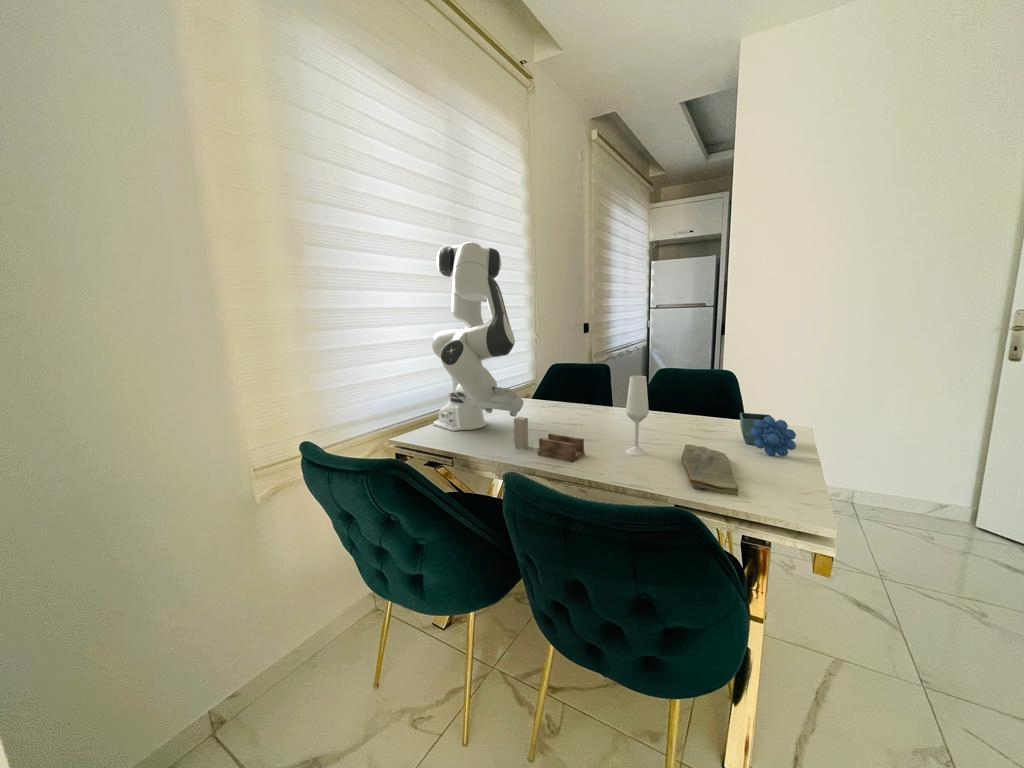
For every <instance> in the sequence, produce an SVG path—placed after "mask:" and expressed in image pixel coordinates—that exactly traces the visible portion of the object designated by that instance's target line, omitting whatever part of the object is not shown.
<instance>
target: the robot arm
mask: <svg viewBox="0 0 1024 768" xmlns="http://www.w3.org/2000/svg"><path fill="white" fill-rule="evenodd" d="M436 266H437V269H438V272H439V273H440V275H442V276H444V277H446V278H447V277H448V278H451V277H452V287H451V314H452V316H453V317H454V318H455V319H457V320H458V321H460V322H462V323H464V329H461V328H460V329H446V330H442V331H439V332H436V333H435V334H434V336H433V338H432V340H431V348H432V352H433V353H434V354H435V355H436V356H437V357H438V358H440V360H441V363H442V365H443V367H444V368H445V370H446V372H447V373H448V374H449V375H450V377H451V381H452V392H451V393H449V392H448V397H450V399H449V401H448V402H447V403H446V404H445V405H444V406H443V407H442V408H440V409H439V412H438V419H437V420H434V421H433V423H432V424H433V426H435V427H439V428H442V429H445V430H449V431H453V432H456V431H464V430H465V431H467V430H468V431H469V430H477V429H481V428H483V427H485V426H486V425H487V422H486V420H485V417H484V411H485V412H486V413H487V414H491V413H492V412H493V410H501V411H507V412H509V415H510V417H515V418H517V415H518V413H519V412H520V411H521V410H522V408H523V406H524V399H523V398H522V397H521V396H520V395H519V393H517V392H516V391H515V390H514V389H512V388H510V387H503V386H498V385H497V384H498V383H497V381H496V379H495V378H494V376H493V375H492V374H491V373H490V372H489V370H488V369H487V367H484V365H483V363H482V361H486V360H487V359H493V358H498V357H503V356H508V355H509V354H510V352H511V351H512V350H513V348H514V346H515V342H516V340H515V335H514V332H513V329H512V327H511V325H510V324H511V323H510V321H509V318H508V317H509V316H508V314H507V310H506V305H505V302H504V297H503V295H502V291H501V289H500V286H499V284H498V282H497V281H496V280H495V278H496V277H498V276H499V274H500V271H501V269H502V259H501V256H500V252H499V251H498V249H495V248H492V247H483V246H481V245H480V244H479V243H476V242H474V241H467V242H464V243H462V244H459V245H452V244H446V245H443V246H441V247H440V248H439V250H438V252H437V255H436ZM482 303H487V306H488V310H489V315H490V319H489V320H488V321H487V322H485V323H484V320H483V317H482ZM483 410H484V411H483Z"/></svg>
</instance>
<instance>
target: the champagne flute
mask: <svg viewBox="0 0 1024 768" xmlns="http://www.w3.org/2000/svg"><path fill="white" fill-rule="evenodd" d="M647 384H648V382H647V376H644V375H630V376H629V382H628V391H627V399H626V407H625V413H626V415H627V417H628V418H629V419H631V421H632V422H634V445H633V446H632V447H629V448H628V449H626V450H625V454H627V455H629V456H633V455H634V456H633V457H635V456H637V457H641V456H642V455H643V456H646V455H648V451H646V450H645V449H643V448H642V447H640V446H639V433H640V432H639V431H640V423H641V422H642V421H644V420H645V419H646V418H647V417H648V416H649V412H650V411H649V399H648V397H649V396H648V385H647Z"/></svg>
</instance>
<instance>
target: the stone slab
mask: <svg viewBox="0 0 1024 768" xmlns="http://www.w3.org/2000/svg"><path fill="white" fill-rule="evenodd" d="M681 461H682V465H683V466H684V469H685V471H686V476H687V480H688V482H689V484H690V486H692V487H693V489H696V488H697V489H698V490H699V489H700V488H701V489H706V488H707V490H709V491H711V492H714V493H716V494H718V493H720V494H719V495H725V494H727V496H735V495H736V497H737V496H738V494H739V486H738V483H736V480H735V477H734V473H733V468H732V465H731V462H730V459H729V458H728V457H727V454H726V453H724V452H721V451H719V450H714V449H710V448H708V447H706V446H699V445H695V444H689V443H688V444H685V446H684V449H683V452H682V454H681Z"/></svg>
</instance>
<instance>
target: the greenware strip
mask: <svg viewBox="0 0 1024 768" xmlns="http://www.w3.org/2000/svg"><path fill="white" fill-rule="evenodd" d="M513 434H514V438H513V439H514V449H519V450H525V449H527V448H528V447H529V418H528V417H523V416H516V417H515V418H513Z"/></svg>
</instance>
